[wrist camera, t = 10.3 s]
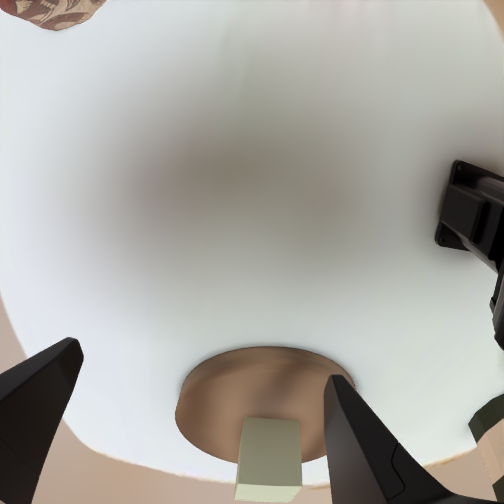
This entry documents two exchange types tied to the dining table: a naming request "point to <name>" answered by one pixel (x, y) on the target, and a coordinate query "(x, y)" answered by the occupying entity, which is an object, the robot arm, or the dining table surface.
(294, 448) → the sage block
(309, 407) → the walnut base
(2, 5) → the figurine
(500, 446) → the wine bottle
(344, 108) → the dining table surface
